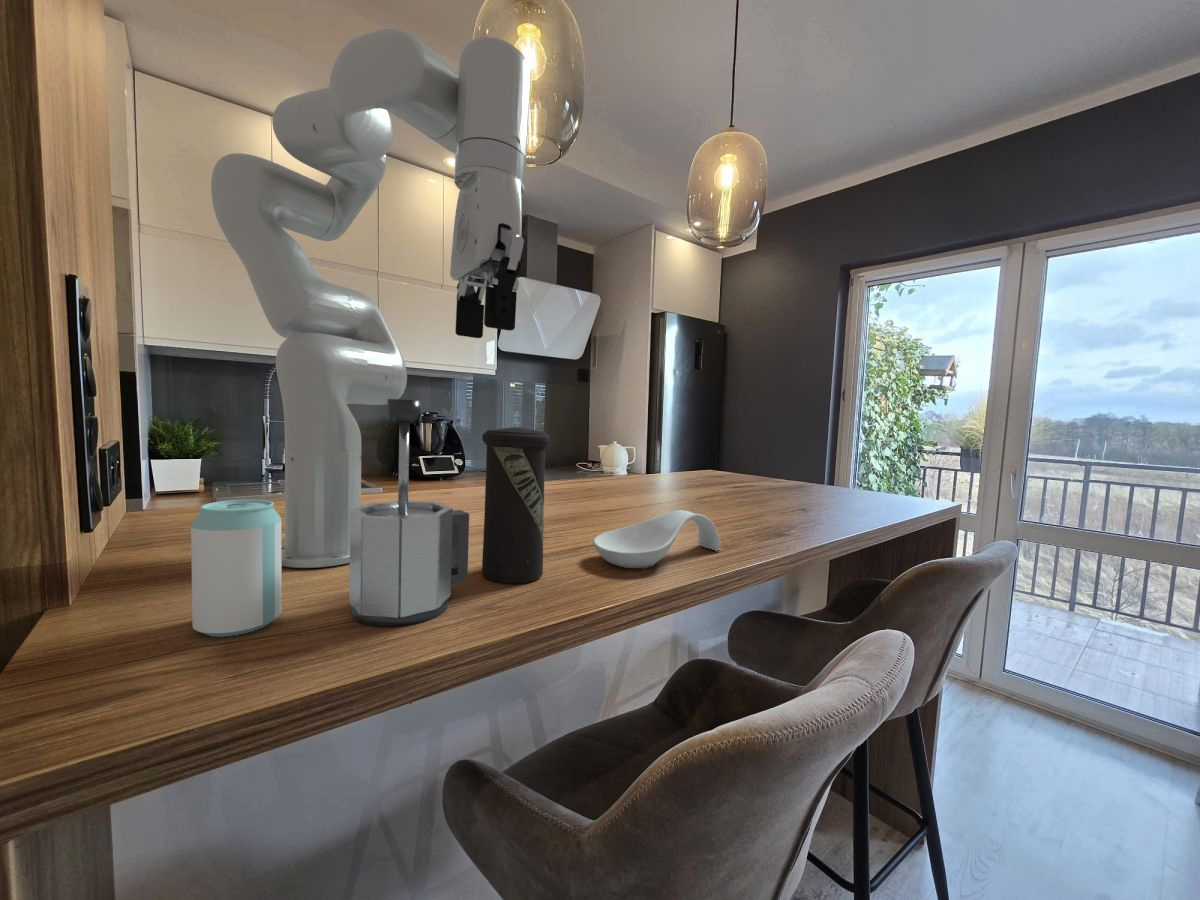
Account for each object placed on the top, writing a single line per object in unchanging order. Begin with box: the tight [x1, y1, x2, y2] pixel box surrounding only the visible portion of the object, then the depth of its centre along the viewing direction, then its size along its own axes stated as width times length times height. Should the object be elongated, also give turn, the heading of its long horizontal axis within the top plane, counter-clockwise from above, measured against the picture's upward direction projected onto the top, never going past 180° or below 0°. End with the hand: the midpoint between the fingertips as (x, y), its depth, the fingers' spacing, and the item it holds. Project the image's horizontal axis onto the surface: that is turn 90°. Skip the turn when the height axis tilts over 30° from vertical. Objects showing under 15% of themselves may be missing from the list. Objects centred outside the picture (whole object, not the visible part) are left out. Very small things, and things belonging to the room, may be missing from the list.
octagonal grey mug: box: [348, 500, 470, 628], centre depth 55 cm, size 10×12×11 cm
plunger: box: [369, 398, 435, 517], centre depth 53 cm, size 7×7×13 cm
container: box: [481, 427, 551, 584], centre depth 66 cm, size 9×9×20 cm
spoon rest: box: [592, 509, 722, 570], centre depth 78 cm, size 24×12×7 cm, turn 127°
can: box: [190, 499, 282, 638], centre depth 48 cm, size 7×7×12 cm
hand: (483, 332), depth 55 cm, fingers open, 9 cm apart
